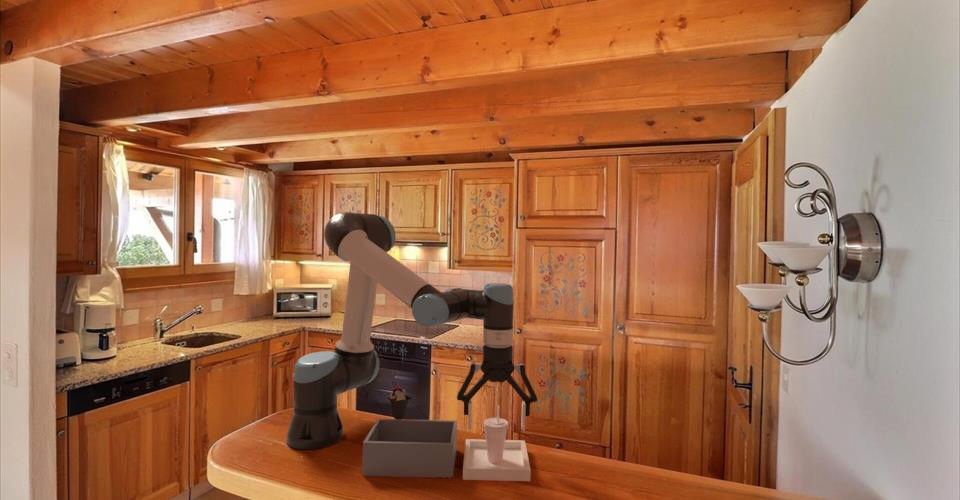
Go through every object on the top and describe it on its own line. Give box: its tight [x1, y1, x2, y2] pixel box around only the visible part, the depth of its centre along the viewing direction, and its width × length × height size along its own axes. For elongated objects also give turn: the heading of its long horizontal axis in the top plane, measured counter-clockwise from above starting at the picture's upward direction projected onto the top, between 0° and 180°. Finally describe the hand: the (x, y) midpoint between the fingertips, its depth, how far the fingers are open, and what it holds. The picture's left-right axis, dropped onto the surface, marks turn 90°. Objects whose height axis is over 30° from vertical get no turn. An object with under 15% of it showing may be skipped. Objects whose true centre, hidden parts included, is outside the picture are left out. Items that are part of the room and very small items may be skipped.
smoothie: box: [482, 404, 509, 464], centre depth 115 cm, size 6×6×14 cm
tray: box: [462, 438, 531, 482], centre depth 115 cm, size 16×16×3 cm
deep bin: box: [362, 418, 458, 479], centre depth 115 cm, size 22×15×8 cm
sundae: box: [387, 381, 412, 419], centre depth 134 cm, size 7×7×15 cm
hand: (496, 428), depth 115 cm, fingers open, 13 cm apart
